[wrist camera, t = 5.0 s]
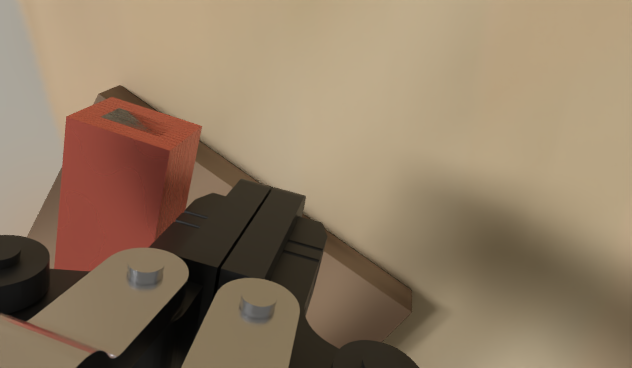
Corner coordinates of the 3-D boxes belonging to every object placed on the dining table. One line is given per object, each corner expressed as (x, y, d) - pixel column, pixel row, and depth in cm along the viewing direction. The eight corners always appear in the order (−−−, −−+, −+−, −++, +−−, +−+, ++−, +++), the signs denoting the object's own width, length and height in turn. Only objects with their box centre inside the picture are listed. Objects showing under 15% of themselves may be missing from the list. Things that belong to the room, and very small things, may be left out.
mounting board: (411, 290, 21) (411, 312, 20) (238, 465, 27) (229, 492, 25) (119, 85, 20) (98, 94, 19) (1, 314, 25) (-22, 334, 24)
